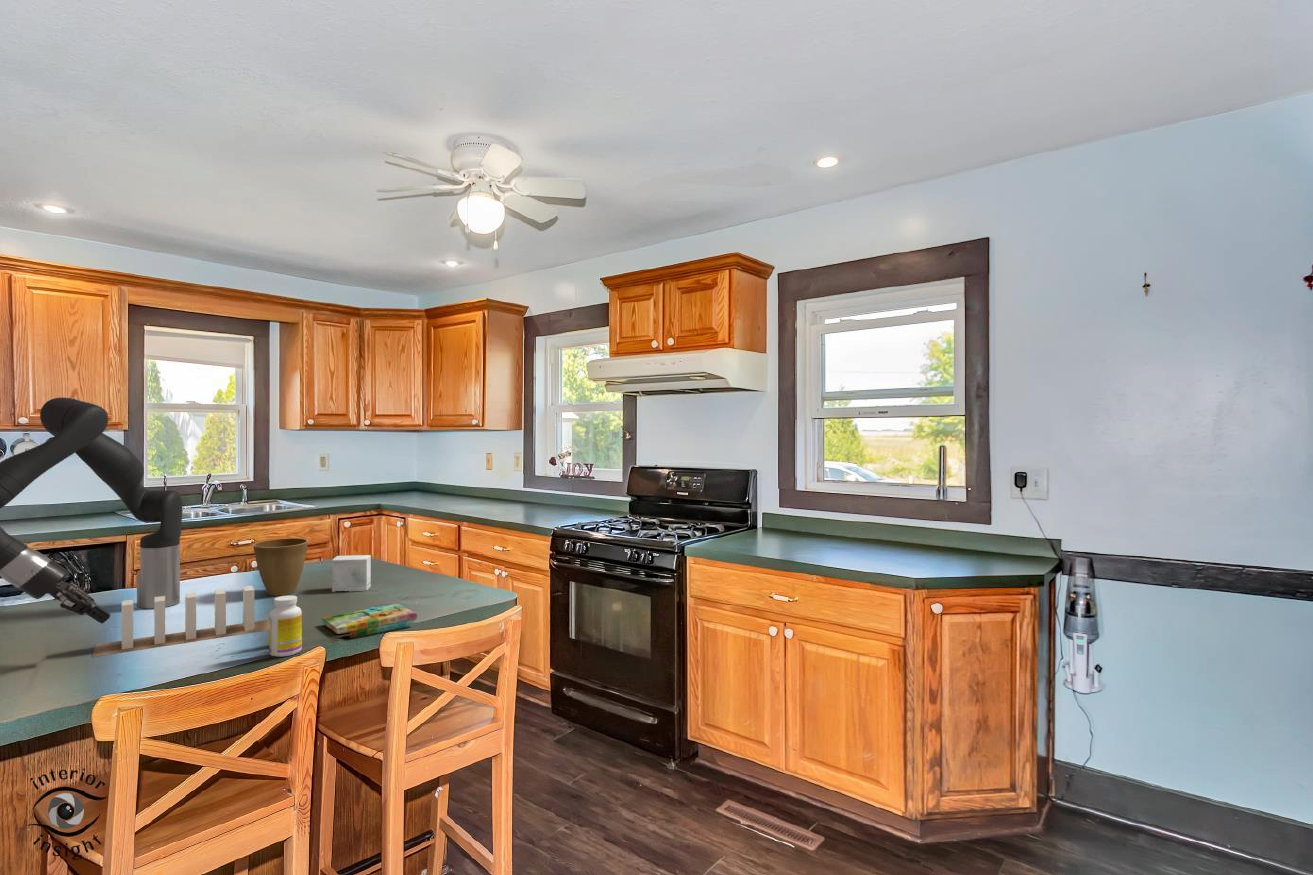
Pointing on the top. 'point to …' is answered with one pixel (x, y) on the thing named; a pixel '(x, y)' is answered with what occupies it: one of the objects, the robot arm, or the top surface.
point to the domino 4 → (220, 612)
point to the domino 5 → (248, 608)
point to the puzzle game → (371, 620)
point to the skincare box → (351, 573)
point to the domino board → (176, 639)
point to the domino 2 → (159, 619)
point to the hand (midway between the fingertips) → (106, 619)
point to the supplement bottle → (285, 627)
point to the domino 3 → (190, 615)
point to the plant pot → (280, 564)
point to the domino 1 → (127, 624)
